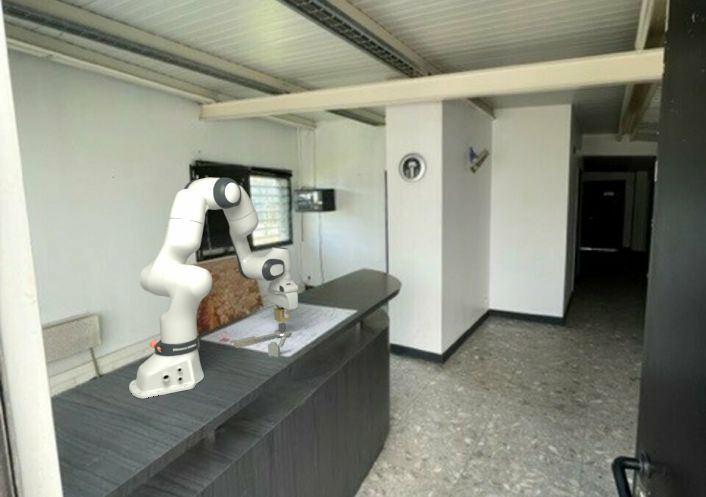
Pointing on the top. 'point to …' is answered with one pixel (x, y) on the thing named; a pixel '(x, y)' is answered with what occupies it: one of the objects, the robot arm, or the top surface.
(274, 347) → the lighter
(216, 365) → the top surface
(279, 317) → the socket
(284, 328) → the ratchet
